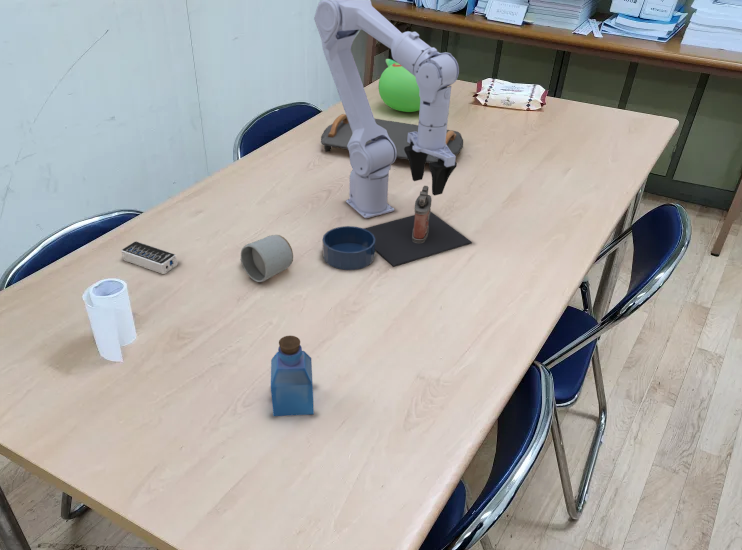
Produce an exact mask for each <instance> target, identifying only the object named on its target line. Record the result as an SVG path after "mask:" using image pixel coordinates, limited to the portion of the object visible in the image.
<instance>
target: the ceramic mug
mask: <svg viewBox="0 0 742 550" xmlns="http://www.w3.org/2000/svg"><path fill="white" fill-rule="evenodd" d="M293 261H294V251H293V248H292V246H291V243H289V241H288V240H287V238H285V237H284V236H282V235H280V234H271V235H267V236H266V237H263V238H261V239H258V240H256V241H255V240H254V241H252V242H249V243H247V244H244V245H243V247H242V248H241V250H240V262H241V265H242V267H243V269H244V271H245V274H247V276H248V277H249V278H250V279H251V280H253V281H254V282H257V283H263V282H265V281H267V280H268V279H270V278H272V277H275V276H276V275H278V274H280V273H282V272H283V271H285V270H287V269H288V268H289V267H290V266H291V265H292V263H293Z"/></svg>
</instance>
